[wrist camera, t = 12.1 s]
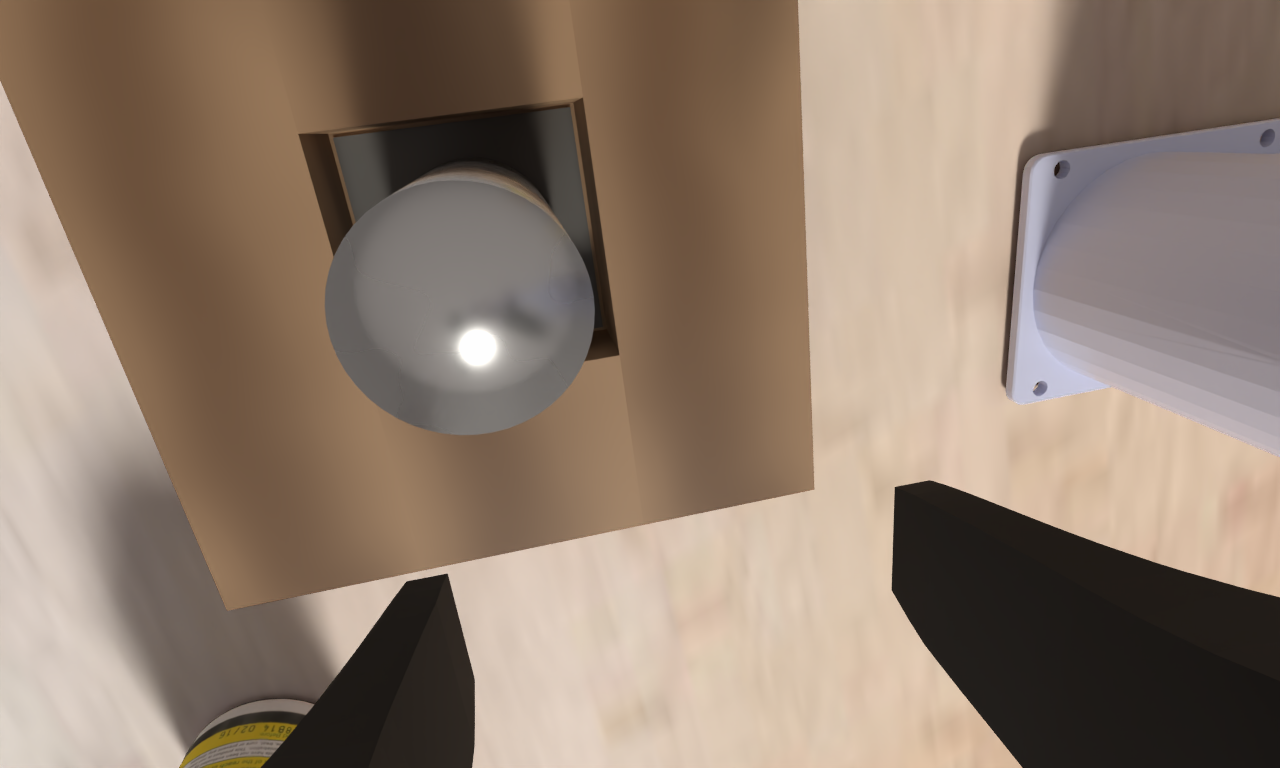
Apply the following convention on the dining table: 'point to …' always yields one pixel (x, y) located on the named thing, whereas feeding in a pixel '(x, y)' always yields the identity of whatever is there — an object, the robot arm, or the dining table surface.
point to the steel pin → (461, 301)
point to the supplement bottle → (246, 734)
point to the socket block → (378, 167)
